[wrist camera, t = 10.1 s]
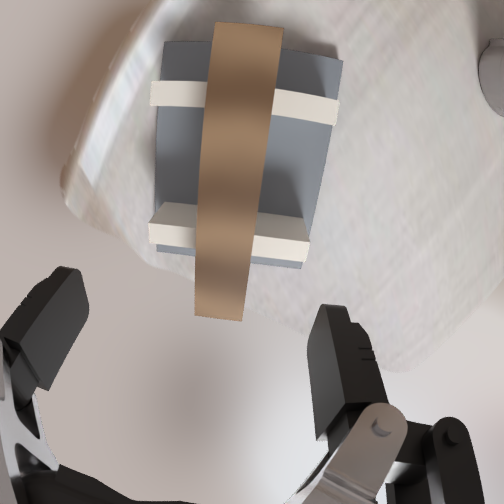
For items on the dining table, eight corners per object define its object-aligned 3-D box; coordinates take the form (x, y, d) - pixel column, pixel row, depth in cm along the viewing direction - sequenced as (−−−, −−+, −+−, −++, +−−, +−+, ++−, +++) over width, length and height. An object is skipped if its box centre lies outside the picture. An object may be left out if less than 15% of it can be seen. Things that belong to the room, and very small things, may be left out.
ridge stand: (169, 43, 22) (144, 33, 17) (339, 62, 23) (360, 55, 17) (160, 244, 33) (142, 277, 28) (299, 261, 34) (306, 298, 28)
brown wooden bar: (223, 33, 17) (215, 21, 13) (279, 39, 17) (283, 28, 14) (202, 286, 28) (194, 315, 25) (244, 292, 28) (241, 321, 25)
